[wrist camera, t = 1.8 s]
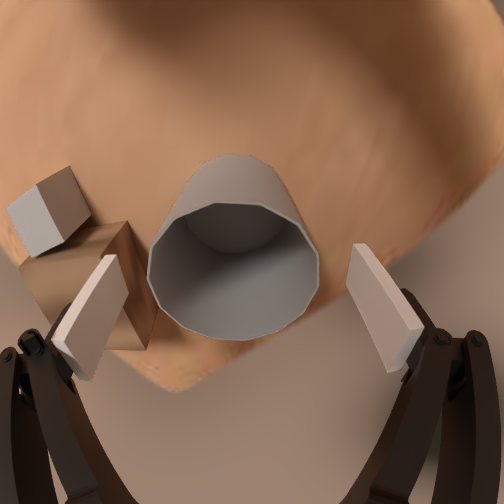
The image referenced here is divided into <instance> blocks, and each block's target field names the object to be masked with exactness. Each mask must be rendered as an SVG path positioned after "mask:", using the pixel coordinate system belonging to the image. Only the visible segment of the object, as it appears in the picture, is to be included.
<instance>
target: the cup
mask: <svg viewBox="0 0 504 504" xmlns="http://www.w3.org/2000/svg"><path fill="white" fill-rule="evenodd" d="M147 281H148V283H149V286H150V288H151V290H152V293H153V295H154V297H155V299H156V301H157V304H158V306H159V308H161V309H162V310H163V311H164V312H165V313H166V314H167V315H169V316H170V317H171V318H172V319H173V320H174V321H175V322H177V323H178V324H179V325H180V326H181V327H183V328H184V329H187V330H189V331H192V332H195V333H197V334H200V335H203V336H205V337H208V338H211V339H214V340H237V341H248V340H251V339H255V338H259V337H262V336H266V335H269V334H273V333H276V332H279V331H280V330H281V329H283V328H284V327H286V326H287V325H288V324H290V323H291V322H293V321H294V320H295V319H297V318H298V317H299V316H301V315H302V314H304V312H305V310H306V309H307V307H308V305H309V303H310V302H311V300H312V298H313V296H314V295H315V293H316V291H317V289H318V288H319V253H318V251H317V249H316V247H315V245H314V243H313V241H312V239H311V236H310V234H309V232H308V230H307V228H306V226H305V224H304V222H303V220H302V218H301V216H300V214H299V212H298V210H297V208H296V206H295V204H294V202H293V200H292V198H291V196H290V194H289V192H288V190H287V188H286V186H285V185H284V183H283V182H282V180H281V179H280V177H279V176H278V174H277V173H276V171H275V170H274V168H273V167H271V166H270V165H268V164H266V163H264V162H263V161H261V160H259V159H257V158H255V157H254V156H252V155H240V154H224V155H222V156H219V157H217V158H214V159H212V160H210V161H207V162H205V163H203V164H202V165H201V166H200V167H199V168H198V170H197V171H196V172H195V173H194V174H193V175H192V177H191V178H190V179H189V180H188V181H187V183H186V185H185V186H184V188H183V189H182V191H181V193H180V194H179V196H178V198H177V199H176V201H175V203H174V205H173V206H172V208H171V210H170V211H169V213H168V215H167V217H166V218H165V220H164V222H163V224H162V225H161V227H160V229H159V231H158V233H157V235H156V236H155V238H154V240H153V242H152V244H151V246H150V251H149V260H148V269H147Z"/></svg>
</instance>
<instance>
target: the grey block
mask: <svg viewBox="0 0 504 504" xmlns="http://www.w3.org/2000/svg"><path fill="white" fill-rule="evenodd" d="M6 211H7V213H8V215H9V217H10V219H11V221H12V223H13V225H14V227H15V229H16V231H17V233H18V235H19V237H20V239H21V240H22V242H23V244H24V246H25V248H26V249H27V251H28V253H29V255H30V256H31V258H33V257H35V256H37V255H39V254H41V253H43V252H44V251H46V250H48V249H50V248H53V247H55V246H57V245H59V244H61V243H63V242H65V241H66V240H67V239H68V238H69V236H70V235H71V234H72V233H73V232H74V231H75V230H76V229H77V228H78V227H79V226H80V225H81V224H82V223H84V222H85V221H86V220H87V219H88V218H89V217H90V216H91V215H92V214H91V212H90V210H89V208H88V206H87V204H86V202H85V200H84V198H83V195H82V193H81V191H80V189H79V187H78V184H77V182H76V180H75V178H74V175H73V173H72V171H71V168H70V166H68V167H66V168H64V169H62V170H60V171H59V172H57V173H55V174H53V175H51V176H49V177H48V178H46V179H44V180H43V181H41V182H39V183H37V184H36V185H35V186H33V187H32V188H31V189H29V190H28V191H27V192H25V193H24V194H23V195H22V196H20V197H19V198H18V199H17V200H16V201H14V202H13V203H12V204H11V205H10V206H8V207H7V208H6Z"/></svg>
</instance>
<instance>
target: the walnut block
mask: <svg viewBox="0 0 504 504" xmlns="http://www.w3.org/2000/svg"><path fill="white" fill-rule="evenodd" d="M116 254H117V258H118V261H119V264H120V267H121V271H122V274H123V277H124V280H125V283H126V286H127V289H128V292H129V294H128V296H127V299H126V301H125V303H124V305H123V307H122V309H121V311H120V314H119V316H118V318H117V320H116V323H115V325H114V327H113V329H112V332H111V334H110V336H109V339H108V341H107V344H106V346H105V348H104V349H107V350H146V349H147V346H148V342H149V339H150V335H151V332H152V328H153V325H154V321H155V318H156V315H157V312H158V308H159V307H158V305H157V302H156V300H155V297H154V295H153V293H152V290H151V288H150V286H149V283H148V281H147V277H146V274H145V272H144V269H143V266H142V264H141V261H140V258H139V255H138V252H137V249H136V246H135V243H134V240H133V237H132V234H131V231H130V228H129V225H128V222H127V221H122V222H116V223H111V224H105V225H100V226H95V227H90V228H85V229H80V230H75V231H74V232H73V233H72V234H71V235H70V236H69V238H68V239H67V240H66V241H65V242H63V243H61V244H59V245H57V246H55V247H53V248H50V249H48V250H46V251H44V252H43V253H41V254H39V255H37V256H35V257H33V258H31V256H29V257H28V258H27V259H26V260H25V261H24V262H23V263H22V264H21V265H20V266H19V268H18V269H19V271H20V273H21V275H22V277H23V279H24V281H25V282H26V284H27V286H28V288H29V290H30V291H31V293H32V295H33V297H34V298H35V300H36V302H37V304H38V305H39V307H40V308H41V310H42V312H43V313H44V315H45V316H46V318H47V320H48V321H49V323H50V324H51V326H53V325H54V323H56V322H55V321H56V320H57V318H58V317H59V315H60V313H61V312H62V310H63V308H65V307H66V306H67V305H68V304H69V303H70V302H73V301H74V300H75V298H76V297H77V295H78V294H79V292H80V291H81V289H82V288H83V286H84V285H85V283H86V282H87V280H88V279H89V277H90V276H91V274H92V273H93V272H94V270H95V269H96V267H97V266H98V265H99V263H100V262H101V260H102V259H103V258H104V256H105V255H116Z"/></svg>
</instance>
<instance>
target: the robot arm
mask: <svg viewBox="0 0 504 504" xmlns="http://www.w3.org/2000/svg"><path fill="white" fill-rule="evenodd" d="M346 286H347V288H348V290H349V292H350V294H351V296H352V298H353V300H354V302H355V304H356V306H357V308H358V310H359V312H360V315H361V316H362V318H363V321H364V323H365V325H366V327H367V329H368V331H369V333H370V336H371V338H372V340H373V342H374V344H375V346H376V349H377V351H378V353H379V356H380V358H381V360H382V362H383V365H384V367H385V369H386V371H387V373H389V372H393V371H397V370H401V369H402V367H403V366H404V364H405V362H407V364H408V366H409V369H408V370H407V372H406V373H405V375H404V377H403V378H402V380H401V382H403V384H402V386H401V389H400V391H399V394H398V397H397V399H396V402H395V404H394V407H393V409H392V411H391V414H390V416H389V418H388V421H387V423H386V425H385V427H384V429H383V431H382V433H381V436H380V438H379V440H378V442H377V444H376V446H375V447H374V450H373V451H372V453H371V455H370V457H369V459H368V461H367V462H366V464H365V466H364V468H363V469H362V471H361V473H360V474H359V476H358V478H357V479H356V481H355V483H354V484H353V486H352V487H351V489H350V490H349V492H348V494H347V495H346V496H345V498H344V499H343V500H342V501H341V502H340V503H339V504H409V502H408V498H409V496H410V494H411V491H412V489H413V487H414V485H415V483H416V481H417V478H418V476H419V474H420V471H421V469H422V467H423V464H424V462H425V459H426V456H427V454H428V451H429V448H430V445H431V442H432V439H433V436H434V433H435V430H436V426H437V423H438V420H439V416H440V412H441V409H442V431H441V443H440V453H439V462H438V469H437V475H436V481H435V487H434V492H433V497H432V501H431V504H497V498H498V491H499V481H500V470H501V423H500V410H499V401H498V392H497V385H496V379H495V374H494V368H493V363H492V358H491V353H490V349H489V346H488V341H487V339H486V337H485V336H484V335H483V334H482V333H481V332H479V331H476V330H471V331H469V332H468V333H467V335H466V337H465V338H452V336H451V335H450V334H449V333H448V332H447V331H445V330H444V329H440V328H436V327H435V326H434V324H433V323H432V321H431V319H430V318H429V317H428V315H427V314H426V312H425V311H424V309H422V306H421V305H420V304H419V303H418V301H417V300H416V298H415V297H414V295H413V294H412V293H410V292H409V291H408V290H407V289H405V288H404V289H399V288H398V287H397V285H396V284H395V283H394V281H393V280H392V278H391V277H390V276H389V274H388V273H387V271H386V270H385V269H384V267H383V266H382V265H381V263H380V262H379V261H378V259H377V258H376V257H375V255H374V254H373V253H372V251H371V250H370V249H369V248H368V246H367V245H366V244H365V243H360V244H353V246H352V252H351V258H350V263H349V269H348V274H347V279H346ZM128 294H129V292H128V289H127V286H126V283H125V280H124V277H123V274H122V271H121V267H120V264H119V261H118V258H117V254H116V255H105V256H104V258H103V259H102V260H101V262H100V263H99V265H98V266H97V267H96V269H95V270H94V272H93V273H92V274H91V276H90V277H89V279H88V280H87V282H86V283H85V285H84V286H83V288H82V289H81V291H80V292H79V294H78V295H77V297H76V298H75V300H74V301H73V302H70V303H69V304H68V305H67V306H66V307H65V308H63V310H62V312H61V313H60V315H59V317H58V318H57V320H56V321H55V322H56V323H54V325H53V326H52V328H51V330H50V331H49V333H48V335H47V336H46V338H45V340H44V339H43V338H42V336H41V334H40V333H39V331H38V330H36V329H29V330H27V331H25V332H24V333H23V334H22V335H21V336H20V338H19V339H18V346H19V347H20V349H21V350H22V351H23V354H19V353H18V352H17V351H16V349H15V348H13V347H8V348H6V349H4V350H3V351H2V352H1V354H0V504H58V500H57V496H56V493H55V488H54V484H53V479H52V474H51V469H50V463H49V456H48V451H49V454H50V456H51V459H52V462H53V464H54V467H55V469H56V472H57V474H58V476H59V479H60V481H61V483H62V485H63V487H64V490H65V492H66V494H67V497H68V500H67V501H66V502H65V504H139V503H138V502H136V500H135V499H134V498H133V497H132V495H131V494H130V492H129V491H128V490H127V488H126V486H125V485H124V483H123V482H122V481H121V479H120V477H119V476H118V474H117V472H116V471H115V469H114V467H113V466H112V464H111V462H110V460H109V458H108V457H107V455H106V453H105V451H104V449H103V447H102V445H101V444H100V441H99V439H98V437H97V435H96V434H95V431H94V429H93V427H92V425H91V423H90V420H89V418H88V416H87V414H86V411H85V409H84V407H83V404H82V401H81V399H80V396H79V394H78V391H77V389H76V386H75V383H74V381H73V379H72V378H71V376H72V374H73V372H74V373H75V375H76V376H77V377H78V378H79V379H80V380H85V381H90V382H92V379H93V377H94V374H95V371H96V369H97V366H98V364H99V361H100V358H101V356H102V353H103V351H104V348H105V346H106V344H107V341H108V339H109V336H110V334H111V332H112V329H113V327H114V325H115V323H116V320H117V318H118V316H119V314H120V311H121V309H122V307H123V305H124V303H125V301H126V299H127V296H128ZM19 388H20V389H21V394H19ZM47 448H48V449H47Z"/></svg>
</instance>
